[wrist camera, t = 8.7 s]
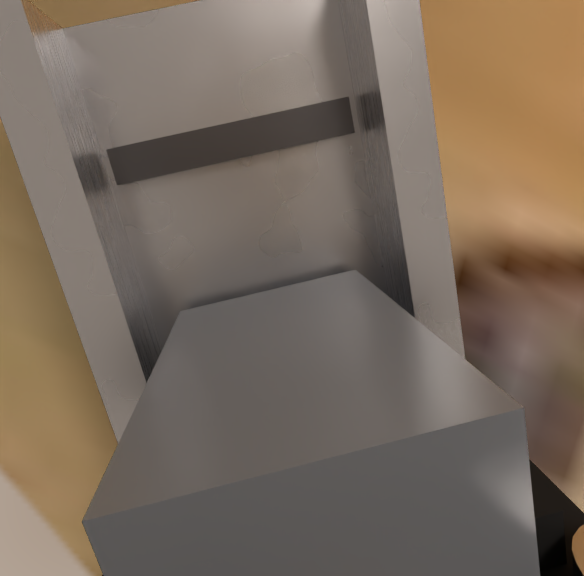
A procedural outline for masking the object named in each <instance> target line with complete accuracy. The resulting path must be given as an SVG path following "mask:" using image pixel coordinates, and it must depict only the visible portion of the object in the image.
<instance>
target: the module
mask: <svg viewBox="0 0 584 576" xmlns="http://www.w3.org/2000/svg"><path fill="white" fill-rule="evenodd" d="M82 523H83V526H84V528H85V531H86V533H87V536H88V538H89V541H90V543H91V546H92V548H93V551H94V553H95V556H96V558H97V561H98V563H99V566H100V568H101V570H102V573H103V575H104V576H540V568H539V558H538V547H537V537H536V526H535V516H534V506H533V495H532V485H531V475H530V464H529V454H528V444H527V433H526V423H525V413H524V407H523V406H521V405H520V404H519V403H518V402H516V401H515V400H514V399H513V398H512V397H510V396H509V395H508V394H507V393H505V392H504V391H503V390H502V389H501V388H499V387H498V386H497V385H496V384H494V383H493V382H492V381H491V380H490V379H488V378H487V377H486V376H485V375H484V374H482V373H481V372H480V371H479V370H477V369H476V368H475V367H474V366H473V365H471V364H470V363H469V362H468V361H466V360H465V359H464V358H463V357H462V356H460V355H459V354H458V353H457V352H455V351H454V350H453V349H452V348H451V347H449V346H448V345H447V344H446V343H445V342H443V341H442V340H441V339H440V338H438V337H437V336H436V335H435V334H434V333H432V332H431V331H430V330H429V329H427V328H426V327H425V326H424V325H423V324H421V323H420V322H419V321H418V320H416V319H415V318H414V317H413V316H412V315H410V314H409V313H408V312H407V311H405V310H404V309H403V308H402V307H401V306H399V305H398V304H397V303H396V302H395V301H393V300H392V299H391V298H390V297H388V296H387V295H386V294H385V293H384V292H382V291H381V290H380V289H379V288H377V287H376V286H375V285H374V284H373V283H371V282H370V281H369V280H368V279H366V278H365V277H364V276H363V275H362V274H360V273H359V272H358V271H357V270H352V271H348V272H343V273H339V274H335V275H331V276H327V277H322V278H318V279H314V280H310V281H306V282H301V283H297V284H293V285H289V286H284V287H280V288H276V289H272V290H268V291H263V292H259V293H255V294H251V295H247V296H242V297H238V298H234V299H230V300H226V301H221V302H217V303H213V304H209V305H205V306H200V307H196V308H192V309H188V310H184V311H180V313H179V315H178V317H177V319H176V321H175V324H174V326H173V328H172V330H171V332H170V334H169V336H168V339H167V341H166V343H165V345H164V347H163V349H162V351H161V354H160V356H159V358H158V360H157V362H156V364H155V366H154V368H153V371H152V373H151V375H150V377H149V379H148V381H147V383H146V386H145V388H144V390H143V392H142V394H141V396H140V398H139V401H138V403H137V405H136V407H135V409H134V411H133V413H132V415H131V418H130V420H129V422H128V424H127V426H126V428H125V430H124V433H123V435H122V437H121V439H120V441H119V443H118V445H117V448H116V450H115V452H114V454H113V456H112V458H111V460H110V462H109V465H108V467H107V469H106V471H105V473H104V475H103V477H102V480H101V482H100V484H99V486H98V488H97V490H96V492H95V495H94V497H93V499H92V501H91V503H90V505H89V507H88V509H87V512H86V514H85V516H84V518H83V520H82Z"/></svg>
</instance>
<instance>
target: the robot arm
mask: <svg viewBox="0 0 584 576" xmlns="http://www.w3.org/2000/svg"><path fill="white" fill-rule="evenodd" d="M529 464H530V475H531V485H532V495H533V506H534V516H535V526H536V537H537V547H538V558H539V568H540V576H584V513H583V512H582V511H581V510H580V509H579V508H578V507H577V506H576V505H575V504H574V503H573V502H572V501H571V500H570V499H569V498H568V497H567V496H566V495H565V494H564V493H563V492H562V491H561V490H560V489H559V488H558V487H557V486H556V485H555V484H554V483H553V482H552V481H551V480H550V479H549V478H548V477H547V476H546V475H545V474H544V473H543V472H542V471H541V470H540V469H539V468H538V467H537V466H536V465H535V464H534V463H533V462H531V461H530V460H529ZM102 576H104V575H102Z"/></svg>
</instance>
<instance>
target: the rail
mask: <svg viewBox="0 0 584 576" xmlns="http://www.w3.org/2000/svg"><path fill="white" fill-rule="evenodd" d="M0 117H1V120H2V123H3V125H4V128H5V131H6V134H7V137H8V139H9V142H10V145H11V148H12V150H13V153H14V156H15V159H16V162H17V164H18V167H19V170H20V173H21V175H22V178H23V181H24V184H25V187H26V189H27V192H28V195H29V198H30V200H31V203H32V206H33V209H34V212H35V214H36V217H37V220H38V223H39V225H40V228H41V231H42V234H43V237H44V239H45V242H46V245H47V248H48V250H49V253H50V256H51V259H52V262H53V264H54V267H55V270H56V273H57V275H58V278H59V281H60V284H61V287H62V289H63V292H64V295H65V298H66V300H67V303H68V306H69V309H70V312H71V314H72V317H73V320H74V323H75V325H76V328H77V331H78V334H79V337H80V339H81V342H82V345H83V348H84V350H85V353H86V356H87V359H88V362H89V364H90V367H91V370H92V373H93V375H94V378H95V381H96V384H97V387H98V389H99V392H100V395H101V398H102V400H103V403H104V406H105V409H106V412H107V414H108V417H109V420H110V423H111V425H112V428H113V431H114V434H115V437H116V439H117V442H118V443H119V441H120V439H121V437H122V435H123V433H124V430H125V428H126V426H127V424H128V422H129V420H130V418H131V415H132V413H133V411H134V409H135V407H136V405H137V403H138V401H139V398H140V396H141V394H142V392H143V390H144V388H145V386H146V383H147V381H148V379H149V377H150V375H151V373H152V371H153V368H154V366H155V364H156V362H157V360H158V358H159V356H160V354H161V351H162V349H163V347H164V345H165V343H166V341H167V339H168V336H169V334H170V332H171V330H172V328H173V326H174V324H175V321H176V319H177V317H178V315H179V313H180V311H184V310H188V309H192V308H196V307H200V306H205V305H209V304H213V303H217V302H221V301H226V300H230V299H234V298H238V297H242V296H247V295H251V294H255V293H259V292H263V291H268V290H272V289H276V288H280V287H284V286H289V285H293V284H297V283H301V282H306V281H310V280H314V279H318V278H322V277H327V276H331V275H335V274H339V273H343V272H348V271H352V270H357V271H358V272H359V273H360V274H362V275H363V276H364V277H365V278H366V279H368V280H369V281H370V282H371V283H373V284H374V285H375V286H376V287H377V288H379V289H380V290H381V291H382V292H384V293H385V294H386V295H387V296H388V297H390V298H391V299H392V300H393V301H395V302H396V303H397V304H398V305H399V306H401V307H402V308H403V309H404V310H405V311H407V312H408V313H409V314H410V315H412V316H413V317H414V318H415V319H416V320H418V321H419V322H420V323H421V324H423V325H424V326H425V327H426V328H427V329H429V330H430V331H431V332H432V333H434V334H435V335H436V336H437V337H438V338H440V339H441V340H442V341H443V342H445V343H446V344H447V345H448V346H449V347H451V348H452V349H453V350H454V351H455V352H457V353H458V354H459V355H460V356H462V357H463V358H464V359H465V353H464V346H463V338H462V330H461V322H460V314H459V307H458V299H457V291H456V283H455V275H454V267H453V260H452V252H451V244H450V236H449V228H448V221H447V213H446V205H445V197H444V189H443V181H442V174H441V166H440V158H439V150H438V142H437V135H436V127H435V119H434V111H433V103H432V95H431V88H430V80H429V72H428V64H427V56H426V49H425V41H424V33H423V25H422V17H421V9H420V2H419V0H199V1H195V2H190V3H185V4H180V5H175V6H170V7H165V8H160V9H156V10H151V11H146V12H141V13H136V14H131V15H126V16H121V17H116V18H112V19H107V20H102V21H97V22H92V23H87V24H82V25H77V26H73V27H68V28H63V29H62V28H61V27H60V26H59V25H58V24H56V23H55V22H54V21H53V20H51V19H50V18H49V17H48V16H47V15H45V14H44V13H43V12H42V11H40V10H39V9H38V8H37V7H35V6H34V5H33V4H32V3H31V2H29V1H28V0H0Z"/></svg>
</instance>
